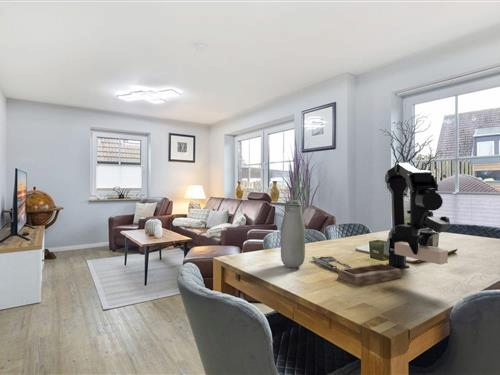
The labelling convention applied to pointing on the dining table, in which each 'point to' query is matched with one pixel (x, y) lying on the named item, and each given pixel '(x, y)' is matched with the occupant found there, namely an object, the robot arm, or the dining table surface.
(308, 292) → the dining table surface
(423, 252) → the pale pink bar
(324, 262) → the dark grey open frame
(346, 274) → the brown wooden tray
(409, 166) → the robot arm
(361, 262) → the dining table surface
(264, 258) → the dining table surface
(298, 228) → the grey vase
